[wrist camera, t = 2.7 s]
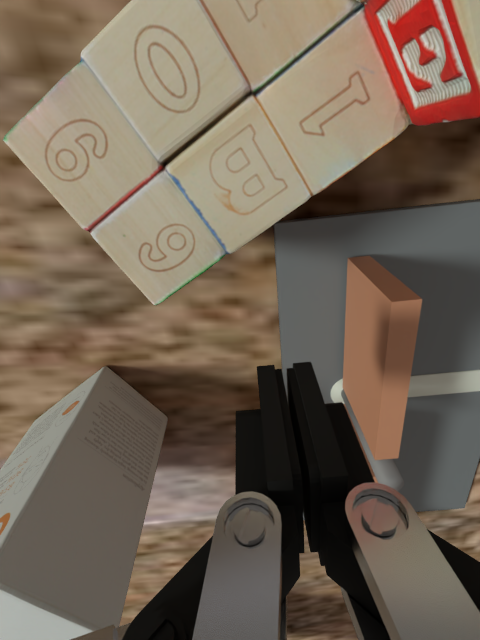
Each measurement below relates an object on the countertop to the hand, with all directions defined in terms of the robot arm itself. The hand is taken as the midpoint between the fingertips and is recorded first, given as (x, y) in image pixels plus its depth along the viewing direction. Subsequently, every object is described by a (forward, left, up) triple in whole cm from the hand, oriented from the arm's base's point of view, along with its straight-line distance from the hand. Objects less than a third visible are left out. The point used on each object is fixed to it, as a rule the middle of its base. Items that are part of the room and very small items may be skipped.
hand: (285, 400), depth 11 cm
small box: (-10, +13, -11) cm, 19 cm away
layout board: (-10, -8, -11) cm, 17 cm away
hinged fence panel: (-4, -5, -10) cm, 12 cm away
